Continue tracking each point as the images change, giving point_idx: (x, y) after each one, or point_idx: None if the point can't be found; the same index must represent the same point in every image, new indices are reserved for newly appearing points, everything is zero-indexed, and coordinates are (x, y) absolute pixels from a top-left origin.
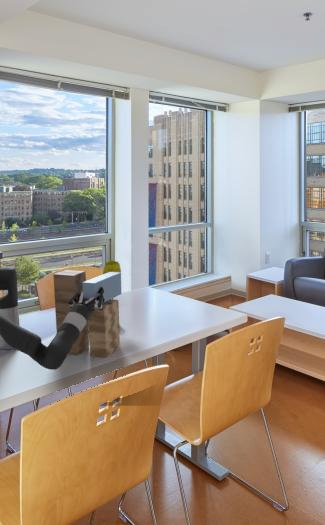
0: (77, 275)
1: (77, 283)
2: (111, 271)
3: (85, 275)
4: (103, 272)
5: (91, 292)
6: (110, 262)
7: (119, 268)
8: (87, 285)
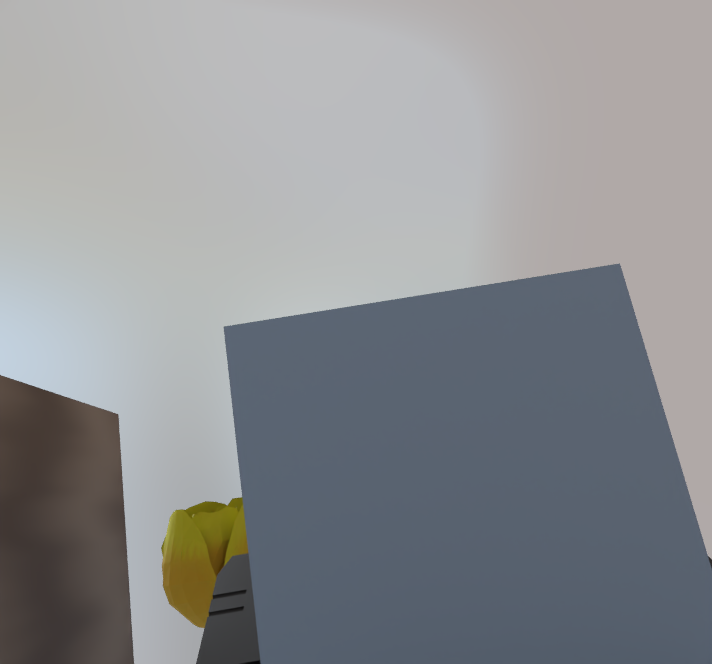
0: (15, 403)
1: (10, 550)
2: (222, 551)
3: (120, 468)
4: (169, 568)
5: (590, 585)
6: (198, 510)
7: None
8: (402, 383)
